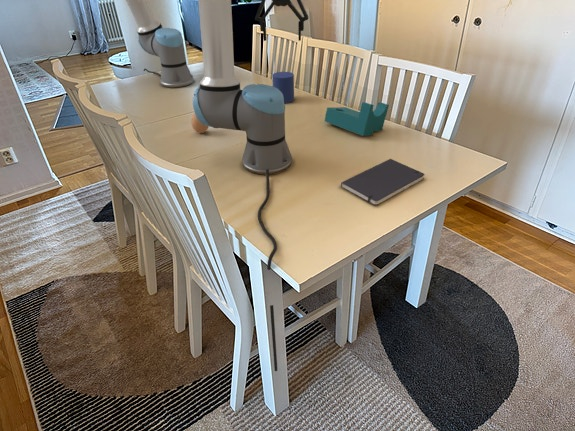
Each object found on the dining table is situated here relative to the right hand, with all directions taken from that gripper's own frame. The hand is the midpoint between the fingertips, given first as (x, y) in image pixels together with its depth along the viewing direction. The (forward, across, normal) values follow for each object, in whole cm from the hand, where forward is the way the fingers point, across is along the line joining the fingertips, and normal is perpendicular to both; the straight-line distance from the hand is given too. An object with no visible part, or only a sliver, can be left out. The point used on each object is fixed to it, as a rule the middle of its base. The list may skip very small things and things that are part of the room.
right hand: (282, 40), depth 157 cm
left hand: (-16, +40, -58) cm, 72 cm away
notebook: (+24, -35, +67) cm, 79 cm away
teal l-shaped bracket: (+24, -28, +28) cm, 46 cm away
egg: (+24, +27, +34) cm, 50 cm away
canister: (+24, 0, 0) cm, 24 cm away
